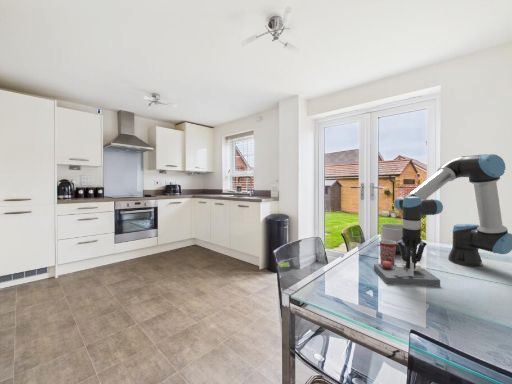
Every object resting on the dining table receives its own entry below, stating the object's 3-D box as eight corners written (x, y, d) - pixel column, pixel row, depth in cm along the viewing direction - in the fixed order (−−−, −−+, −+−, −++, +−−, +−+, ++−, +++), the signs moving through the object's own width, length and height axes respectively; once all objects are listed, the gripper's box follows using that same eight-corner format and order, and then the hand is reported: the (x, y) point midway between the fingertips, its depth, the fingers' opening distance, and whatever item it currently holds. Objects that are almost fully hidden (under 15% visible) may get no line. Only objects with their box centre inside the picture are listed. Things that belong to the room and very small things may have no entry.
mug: (392, 267, 134) (393, 244, 134) (376, 263, 141) (376, 241, 141) (400, 262, 143) (401, 240, 142) (385, 258, 149) (385, 237, 149)
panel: (419, 270, 129) (420, 262, 129) (440, 286, 112) (440, 275, 111) (374, 269, 133) (374, 260, 133) (386, 283, 115) (386, 273, 115)
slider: (400, 274, 117) (401, 264, 117) (403, 277, 114) (403, 267, 114) (395, 274, 118) (395, 264, 117) (398, 276, 115) (398, 267, 114)
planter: (419, 256, 152) (420, 229, 151) (390, 256, 153) (390, 230, 151) (401, 247, 172) (402, 223, 170) (375, 247, 172) (376, 224, 171)
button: (389, 265, 129) (389, 261, 129) (392, 268, 125) (393, 264, 124) (381, 265, 130) (381, 260, 129) (384, 268, 125) (384, 263, 125)
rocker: (412, 259, 129) (412, 256, 129) (423, 271, 118) (424, 268, 118) (400, 258, 130) (400, 255, 130) (411, 270, 119) (411, 267, 119)
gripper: (422, 226, 116) (420, 272, 118) (393, 226, 118) (393, 271, 120) (430, 230, 109) (429, 278, 111) (400, 229, 111) (399, 277, 113)
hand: (410, 274), depth 115 cm, fingers closed
